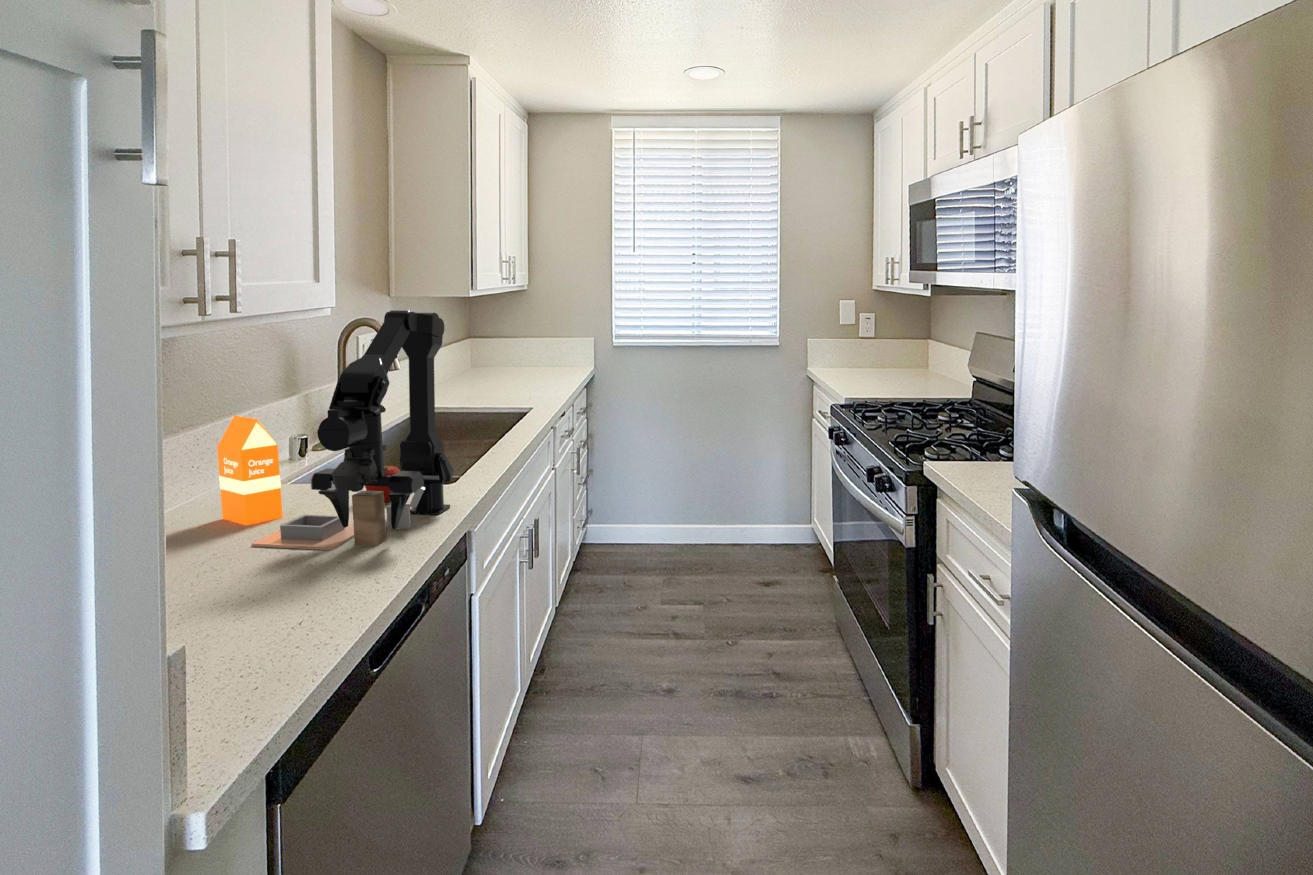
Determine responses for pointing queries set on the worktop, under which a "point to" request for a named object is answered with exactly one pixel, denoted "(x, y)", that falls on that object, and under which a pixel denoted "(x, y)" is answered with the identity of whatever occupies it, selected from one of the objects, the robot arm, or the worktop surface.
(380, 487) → the apple
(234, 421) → the orange juice
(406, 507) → the lighter
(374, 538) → the wooden block
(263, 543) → the block holder
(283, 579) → the worktop surface
